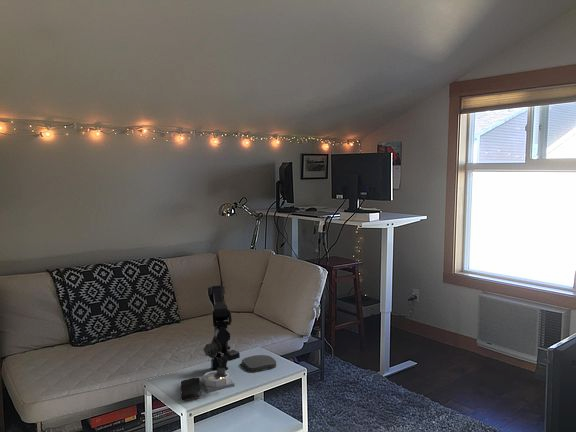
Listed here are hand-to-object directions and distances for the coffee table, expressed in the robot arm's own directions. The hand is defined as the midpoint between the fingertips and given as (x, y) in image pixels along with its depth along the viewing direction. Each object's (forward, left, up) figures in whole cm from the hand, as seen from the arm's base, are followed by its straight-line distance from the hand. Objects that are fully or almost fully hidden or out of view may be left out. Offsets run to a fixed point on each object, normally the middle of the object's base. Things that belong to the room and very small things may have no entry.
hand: (222, 369), depth 223 cm
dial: (+3, 0, -4) cm, 5 cm away
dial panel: (+3, 0, -6) cm, 6 cm away
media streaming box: (-22, -10, -6) cm, 25 cm away
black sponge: (+16, +4, -6) cm, 17 cm away
